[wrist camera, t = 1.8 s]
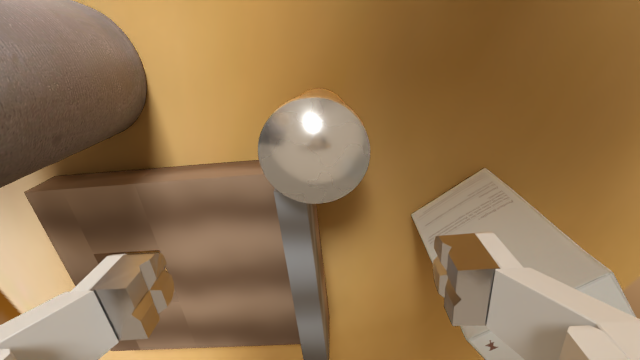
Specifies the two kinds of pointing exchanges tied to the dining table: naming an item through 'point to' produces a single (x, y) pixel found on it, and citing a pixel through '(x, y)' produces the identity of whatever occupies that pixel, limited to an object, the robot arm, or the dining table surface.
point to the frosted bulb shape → (314, 148)
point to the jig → (200, 250)
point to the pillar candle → (62, 83)
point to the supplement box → (514, 246)
